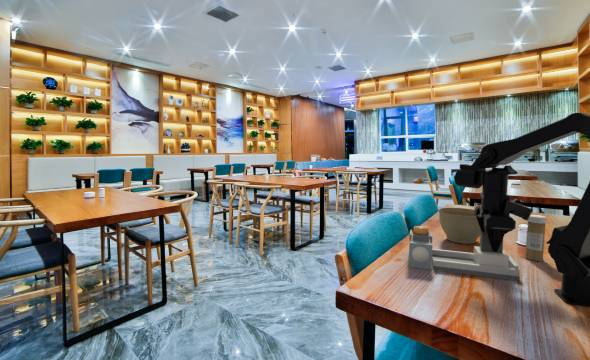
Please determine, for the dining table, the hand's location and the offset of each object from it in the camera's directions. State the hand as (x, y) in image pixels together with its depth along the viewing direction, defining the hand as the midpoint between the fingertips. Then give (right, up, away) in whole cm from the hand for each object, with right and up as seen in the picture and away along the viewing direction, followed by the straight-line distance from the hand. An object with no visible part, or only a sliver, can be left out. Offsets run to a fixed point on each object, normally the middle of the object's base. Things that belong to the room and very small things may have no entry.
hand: (491, 246), depth 86 cm
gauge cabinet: (-17, -6, +7) cm, 19 cm away
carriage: (0, -5, 0) cm, 5 cm away
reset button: (-17, +2, +6) cm, 18 cm away
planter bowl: (+7, -4, +29) cm, 30 cm away
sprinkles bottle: (+19, -6, +9) cm, 22 cm away
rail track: (-4, -6, +2) cm, 8 cm away
